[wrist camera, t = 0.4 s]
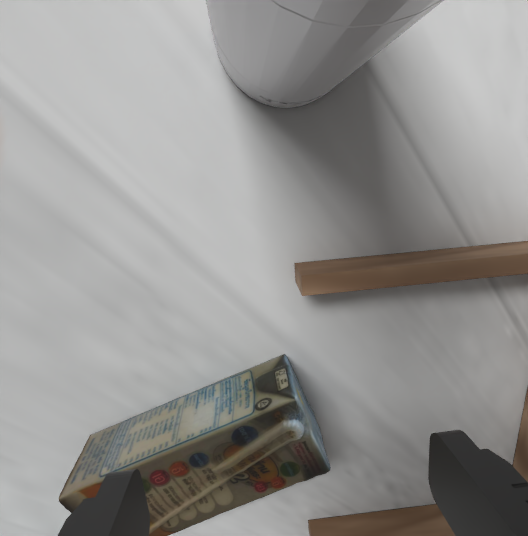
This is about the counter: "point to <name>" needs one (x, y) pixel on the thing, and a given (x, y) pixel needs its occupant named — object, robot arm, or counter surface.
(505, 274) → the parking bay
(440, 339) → the counter surface
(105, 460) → the beverage carton
